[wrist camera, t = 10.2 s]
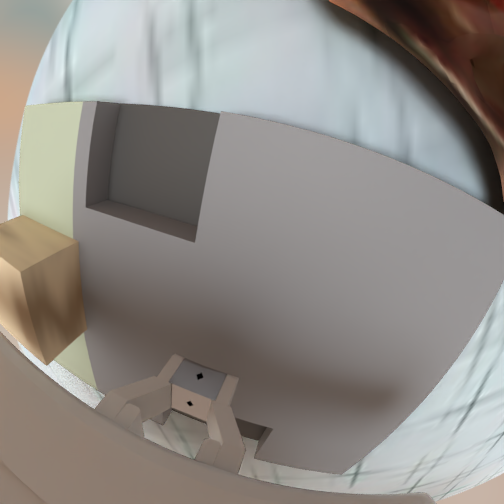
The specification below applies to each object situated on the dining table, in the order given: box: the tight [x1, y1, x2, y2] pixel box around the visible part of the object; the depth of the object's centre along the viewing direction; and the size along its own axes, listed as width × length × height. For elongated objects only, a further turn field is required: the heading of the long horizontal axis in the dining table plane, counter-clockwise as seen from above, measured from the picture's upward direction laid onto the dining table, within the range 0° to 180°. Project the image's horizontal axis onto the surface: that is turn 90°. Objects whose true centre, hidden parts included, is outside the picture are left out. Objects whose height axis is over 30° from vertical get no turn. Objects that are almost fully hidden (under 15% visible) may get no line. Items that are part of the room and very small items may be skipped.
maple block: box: [0, 215, 87, 366], centre depth 12 cm, size 6×6×4 cm
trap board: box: [19, 101, 504, 474], centre depth 13 cm, size 20×26×2 cm
